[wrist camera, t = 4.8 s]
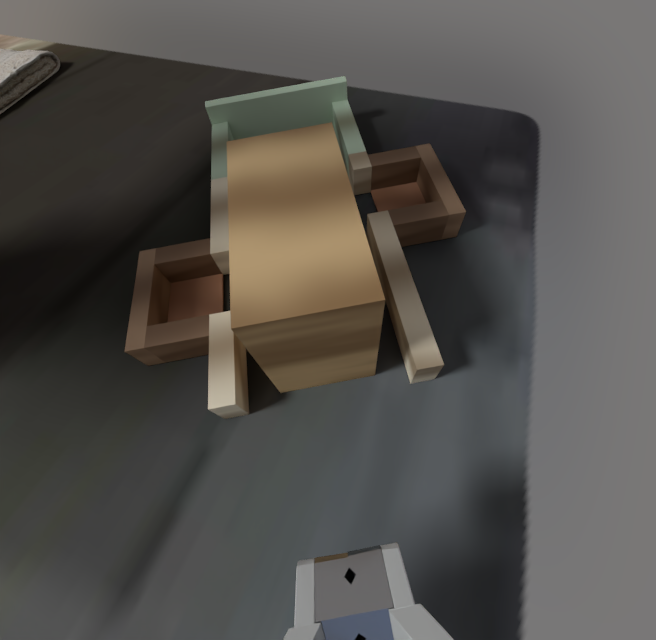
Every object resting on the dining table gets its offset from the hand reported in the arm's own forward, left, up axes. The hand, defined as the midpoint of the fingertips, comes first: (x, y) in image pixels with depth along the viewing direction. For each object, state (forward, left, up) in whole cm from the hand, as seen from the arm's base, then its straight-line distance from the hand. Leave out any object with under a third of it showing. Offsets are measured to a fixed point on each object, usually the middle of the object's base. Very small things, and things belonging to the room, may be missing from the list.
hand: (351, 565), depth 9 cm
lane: (-7, +19, -8) cm, 22 cm away
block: (-5, +13, -8) cm, 16 cm away
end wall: (-12, +32, -8) cm, 35 cm away
